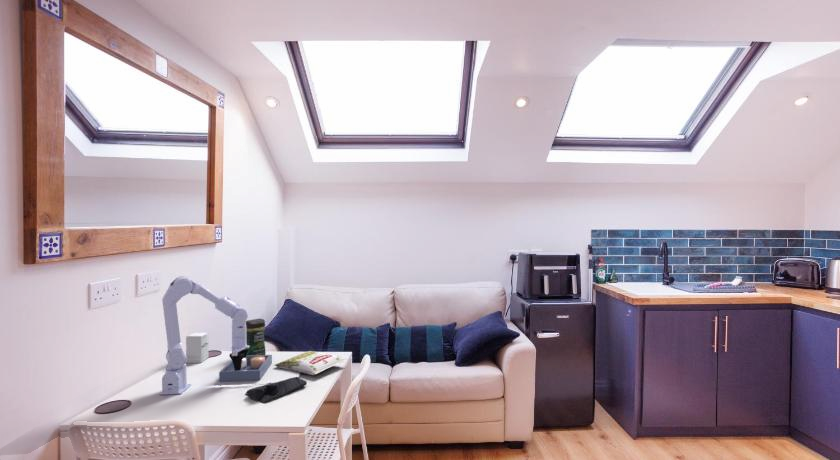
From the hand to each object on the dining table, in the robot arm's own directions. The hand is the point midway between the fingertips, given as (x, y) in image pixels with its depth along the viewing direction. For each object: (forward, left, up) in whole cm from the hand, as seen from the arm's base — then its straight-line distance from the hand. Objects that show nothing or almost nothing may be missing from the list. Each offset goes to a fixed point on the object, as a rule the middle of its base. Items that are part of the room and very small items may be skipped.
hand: (239, 368), depth 193 cm
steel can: (0, 0, -3) cm, 3 cm away
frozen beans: (+9, -28, -5) cm, 30 cm away
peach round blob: (+10, -5, -3) cm, 12 cm away
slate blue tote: (+4, -2, -4) cm, 6 cm away
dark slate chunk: (-17, -19, -5) cm, 26 cm away
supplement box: (+27, +27, -4) cm, 38 cm away
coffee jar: (+29, +1, -4) cm, 29 cm away
